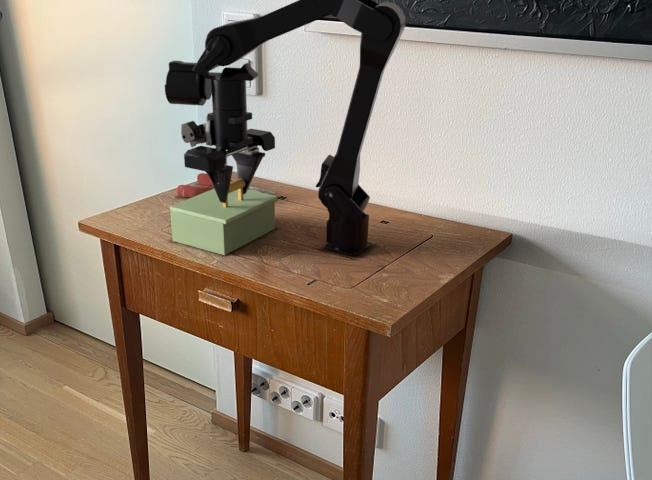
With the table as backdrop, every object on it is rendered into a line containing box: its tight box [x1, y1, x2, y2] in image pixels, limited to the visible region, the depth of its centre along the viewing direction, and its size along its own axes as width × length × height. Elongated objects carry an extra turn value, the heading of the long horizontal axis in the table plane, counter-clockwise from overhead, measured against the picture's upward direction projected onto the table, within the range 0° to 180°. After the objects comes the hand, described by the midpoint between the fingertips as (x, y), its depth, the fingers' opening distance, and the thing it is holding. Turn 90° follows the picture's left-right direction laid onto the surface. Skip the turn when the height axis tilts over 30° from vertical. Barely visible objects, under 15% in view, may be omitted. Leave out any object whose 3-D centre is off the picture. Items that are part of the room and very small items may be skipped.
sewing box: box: [169, 201, 276, 256], centre depth 133 cm, size 12×15×6 cm
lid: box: [169, 178, 278, 224], centre depth 131 cm, size 12×15×4 cm
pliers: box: [176, 172, 277, 199], centre depth 154 cm, size 12×20×3 cm, turn 68°
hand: (233, 197), depth 130 cm, fingers closed on lid, 5 cm apart
